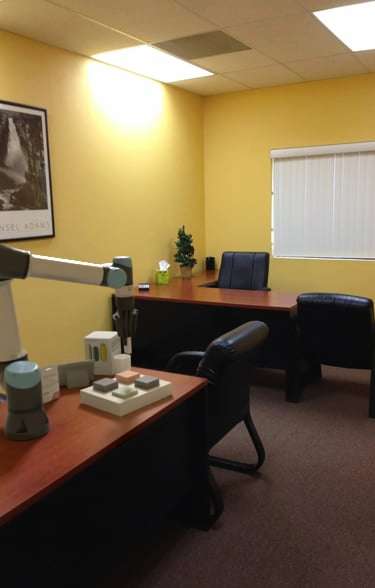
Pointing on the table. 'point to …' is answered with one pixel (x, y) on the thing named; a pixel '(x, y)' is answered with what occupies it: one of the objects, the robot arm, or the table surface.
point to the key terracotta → (127, 376)
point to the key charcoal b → (146, 382)
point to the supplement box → (102, 350)
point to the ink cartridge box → (49, 383)
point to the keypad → (126, 405)
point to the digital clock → (76, 373)
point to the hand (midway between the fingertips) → (127, 352)
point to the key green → (124, 392)
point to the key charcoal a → (105, 385)
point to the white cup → (121, 363)
